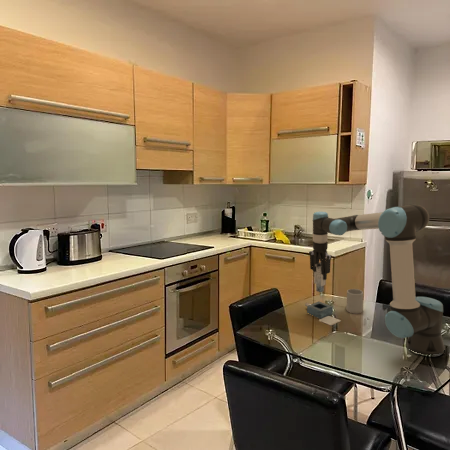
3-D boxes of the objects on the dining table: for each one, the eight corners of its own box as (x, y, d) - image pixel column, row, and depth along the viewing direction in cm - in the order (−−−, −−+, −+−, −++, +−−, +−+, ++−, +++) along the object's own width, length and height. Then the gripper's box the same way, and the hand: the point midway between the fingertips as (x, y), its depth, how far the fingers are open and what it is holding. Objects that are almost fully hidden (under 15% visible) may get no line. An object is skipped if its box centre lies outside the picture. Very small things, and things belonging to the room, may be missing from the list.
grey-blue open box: (332, 314, 219) (332, 306, 218) (321, 319, 214) (321, 311, 213) (312, 306, 230) (312, 298, 230) (300, 311, 225) (300, 303, 224)
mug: (365, 312, 219) (366, 293, 217) (351, 314, 218) (351, 295, 215) (354, 304, 231) (354, 285, 229) (340, 306, 229) (340, 287, 227)
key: (326, 290, 218) (327, 262, 215) (318, 293, 214) (319, 265, 211) (320, 288, 221) (321, 260, 218) (313, 291, 217) (313, 263, 214)
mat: (340, 321, 210) (340, 320, 210) (330, 325, 206) (330, 325, 206) (328, 316, 217) (328, 315, 217) (318, 320, 212) (318, 319, 212)
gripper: (338, 243, 207) (337, 286, 212) (312, 237, 221) (312, 278, 226) (328, 245, 203) (328, 290, 208) (302, 240, 216) (303, 281, 221)
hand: (319, 284), depth 217 cm, fingers closed on key, 4 cm apart
